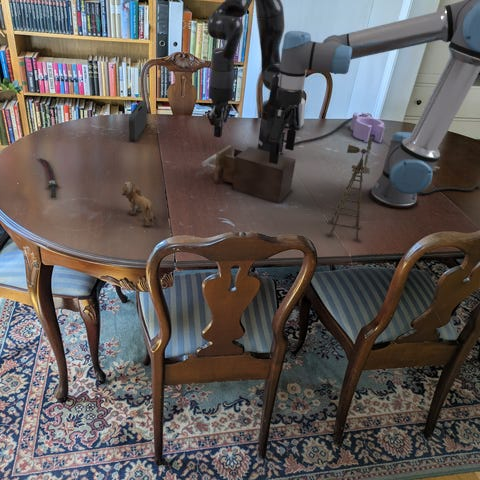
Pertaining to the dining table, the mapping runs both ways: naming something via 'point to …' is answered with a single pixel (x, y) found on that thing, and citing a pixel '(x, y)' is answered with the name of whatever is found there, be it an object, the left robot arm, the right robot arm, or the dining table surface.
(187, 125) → the dining table surface
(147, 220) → the lion figurine
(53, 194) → the sword
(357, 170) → the miniature windmill
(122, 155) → the dining table surface
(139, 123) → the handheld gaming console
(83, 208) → the dining table surface
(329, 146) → the dining table surface
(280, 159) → the cabinet
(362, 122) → the clip
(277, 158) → the right robot arm
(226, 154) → the drawer
